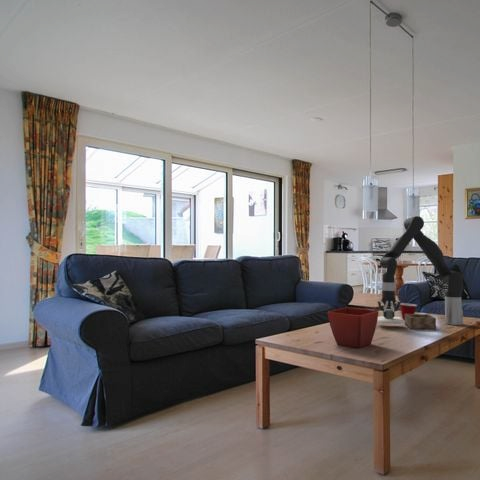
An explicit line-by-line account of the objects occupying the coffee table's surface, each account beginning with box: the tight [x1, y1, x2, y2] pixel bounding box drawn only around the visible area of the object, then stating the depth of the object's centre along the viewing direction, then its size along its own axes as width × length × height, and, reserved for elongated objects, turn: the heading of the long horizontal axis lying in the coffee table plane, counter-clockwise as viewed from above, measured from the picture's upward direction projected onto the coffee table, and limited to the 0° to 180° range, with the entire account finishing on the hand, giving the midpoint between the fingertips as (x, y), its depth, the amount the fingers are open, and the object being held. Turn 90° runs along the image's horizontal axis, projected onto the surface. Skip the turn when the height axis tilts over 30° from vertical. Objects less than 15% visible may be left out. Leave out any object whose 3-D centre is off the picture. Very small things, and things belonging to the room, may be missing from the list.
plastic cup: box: [399, 302, 418, 321], centre depth 270 cm, size 11×11×12 cm
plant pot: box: [327, 307, 380, 349], centre depth 211 cm, size 19×19×17 cm
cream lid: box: [377, 309, 405, 325], centre depth 254 cm, size 15×15×7 cm
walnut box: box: [404, 313, 437, 331], centre depth 252 cm, size 14×14×7 cm
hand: (388, 317), depth 254 cm, fingers closed on cream lid, 3 cm apart
